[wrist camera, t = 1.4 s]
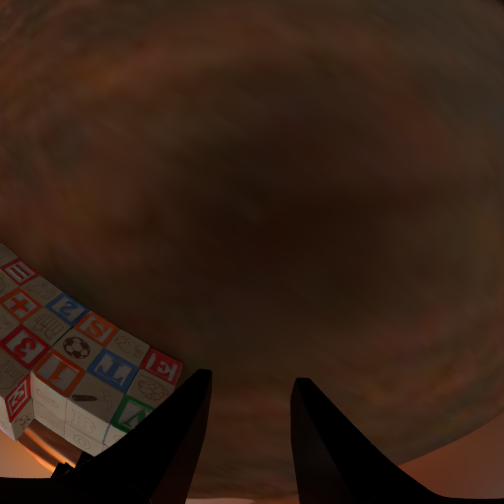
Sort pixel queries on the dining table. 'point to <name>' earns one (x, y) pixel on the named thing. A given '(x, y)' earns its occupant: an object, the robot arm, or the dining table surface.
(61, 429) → the stack of blocks
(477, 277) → the dining table surface
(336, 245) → the dining table surface
